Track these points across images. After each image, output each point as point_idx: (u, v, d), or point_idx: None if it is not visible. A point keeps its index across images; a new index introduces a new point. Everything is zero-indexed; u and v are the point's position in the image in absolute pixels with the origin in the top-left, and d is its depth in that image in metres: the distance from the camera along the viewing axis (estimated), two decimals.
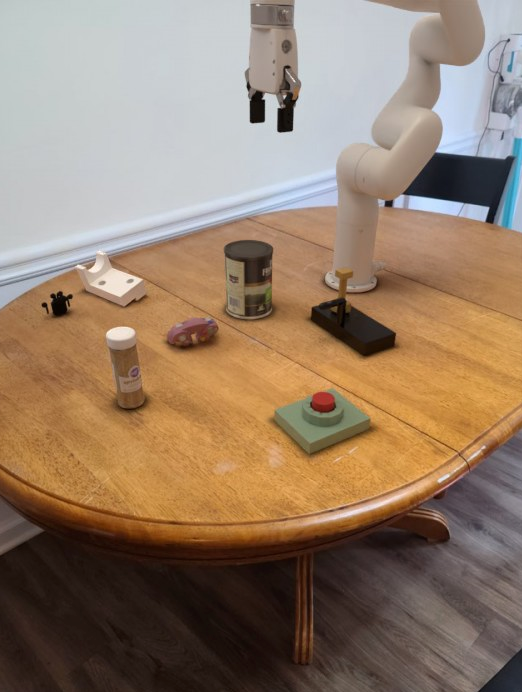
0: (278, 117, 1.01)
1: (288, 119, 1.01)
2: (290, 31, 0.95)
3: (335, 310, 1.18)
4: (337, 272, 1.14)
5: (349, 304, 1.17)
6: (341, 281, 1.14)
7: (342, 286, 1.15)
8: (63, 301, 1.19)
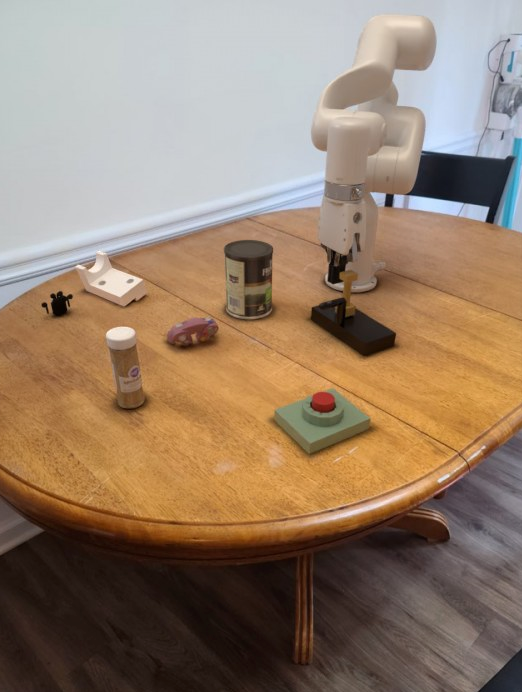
0: (332, 272, 1.14)
1: None
2: (361, 205, 1.05)
3: None
4: (341, 275, 1.13)
5: (353, 307, 1.16)
6: (345, 284, 1.13)
7: (347, 289, 1.14)
8: (63, 301, 1.19)
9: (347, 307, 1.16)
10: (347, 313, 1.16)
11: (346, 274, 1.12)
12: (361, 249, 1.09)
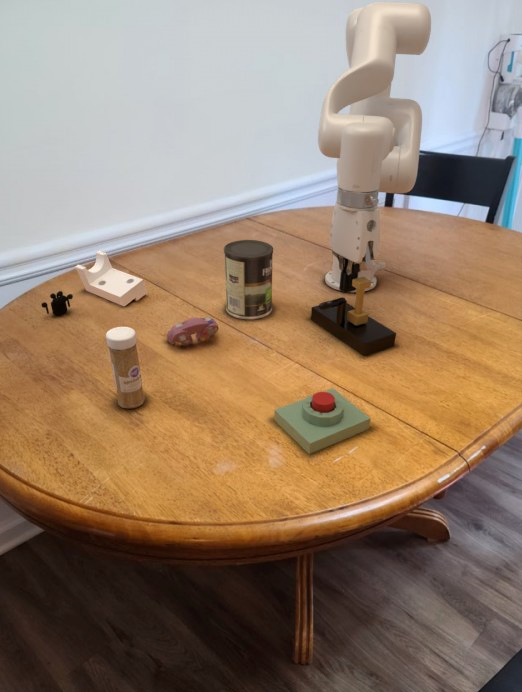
0: (344, 281, 1.12)
1: None
2: (375, 212, 1.02)
3: (352, 321, 1.14)
4: (354, 282, 1.10)
5: (366, 314, 1.14)
6: (358, 291, 1.11)
7: (360, 296, 1.11)
8: (63, 301, 1.19)
9: (360, 315, 1.13)
10: (359, 321, 1.14)
11: (359, 281, 1.09)
12: (374, 257, 1.07)
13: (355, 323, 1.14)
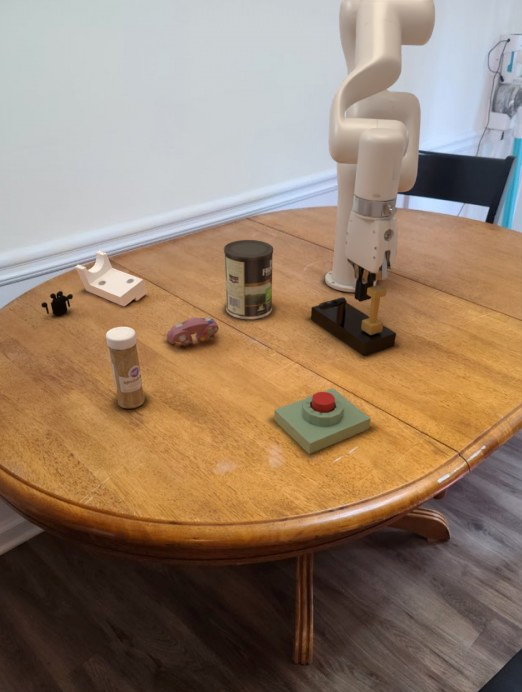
0: (359, 289, 1.09)
1: None
2: (392, 221, 0.99)
3: (366, 330, 1.11)
4: (369, 290, 1.07)
5: (381, 324, 1.11)
6: (373, 300, 1.08)
7: (375, 305, 1.08)
8: (63, 301, 1.19)
9: (374, 324, 1.10)
10: (374, 330, 1.11)
11: (374, 290, 1.06)
12: (391, 267, 1.04)
13: (370, 332, 1.11)
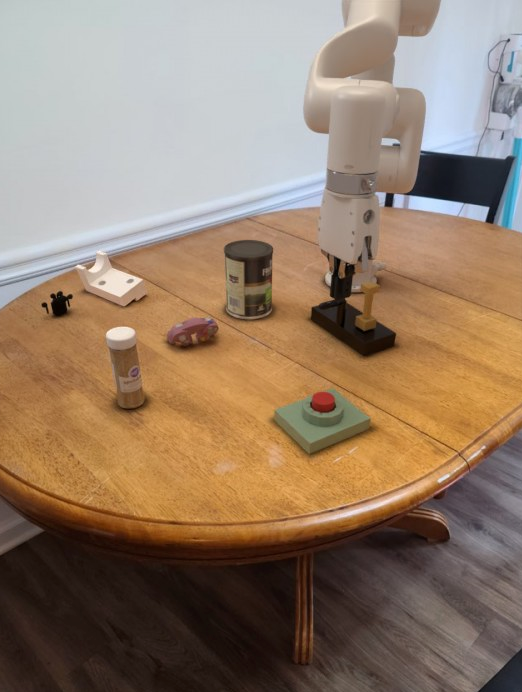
0: (336, 286, 0.91)
1: (347, 288, 0.91)
2: (373, 200, 0.81)
3: (360, 326, 1.13)
4: (363, 287, 1.08)
5: (374, 320, 1.12)
6: (367, 296, 1.09)
7: (368, 301, 1.10)
8: (63, 301, 1.19)
9: (368, 320, 1.11)
10: (368, 326, 1.12)
11: (368, 286, 1.08)
12: (373, 256, 0.86)
13: (363, 328, 1.12)
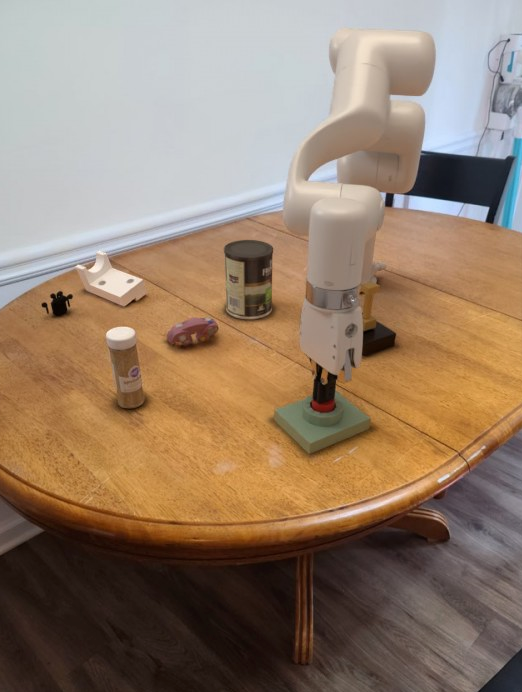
0: (318, 390, 0.87)
1: (330, 392, 0.87)
2: (355, 314, 0.77)
3: None
4: (363, 287, 1.08)
5: (374, 320, 1.12)
6: (367, 296, 1.09)
7: (368, 301, 1.10)
8: (63, 301, 1.19)
9: (368, 320, 1.11)
10: (368, 326, 1.12)
11: (368, 286, 1.08)
12: (356, 366, 0.82)
13: (363, 328, 1.12)
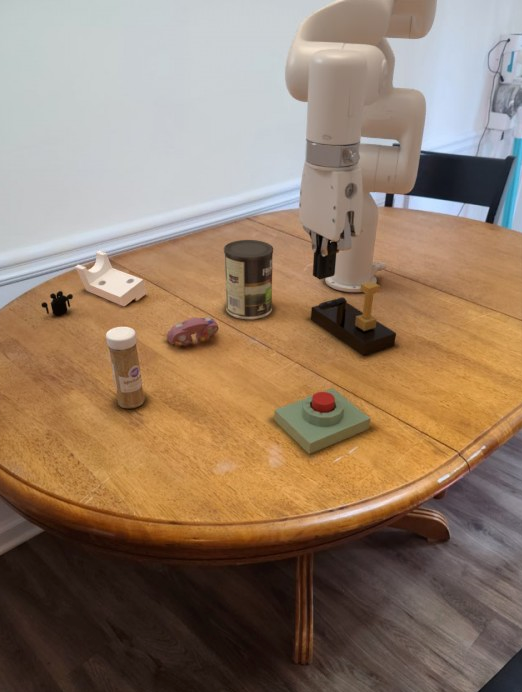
0: (318, 264, 0.87)
1: (330, 266, 0.88)
2: (355, 173, 0.77)
3: (360, 326, 1.13)
4: (363, 287, 1.08)
5: (374, 320, 1.12)
6: (367, 296, 1.09)
7: (368, 301, 1.10)
8: (63, 301, 1.19)
9: (368, 320, 1.11)
10: (368, 326, 1.12)
11: (368, 286, 1.08)
12: (356, 233, 0.82)
13: (363, 328, 1.12)
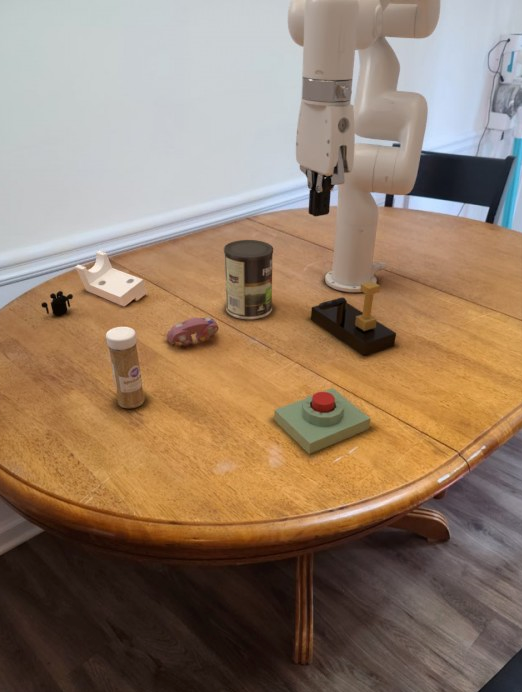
0: (314, 201, 0.93)
1: (325, 203, 0.93)
2: (347, 108, 0.83)
3: (360, 326, 1.13)
4: (363, 287, 1.08)
5: (374, 320, 1.12)
6: (367, 296, 1.09)
7: (368, 301, 1.10)
8: (63, 301, 1.19)
9: (368, 320, 1.11)
10: (368, 326, 1.12)
11: (368, 286, 1.08)
12: (349, 168, 0.88)
13: (363, 328, 1.12)
